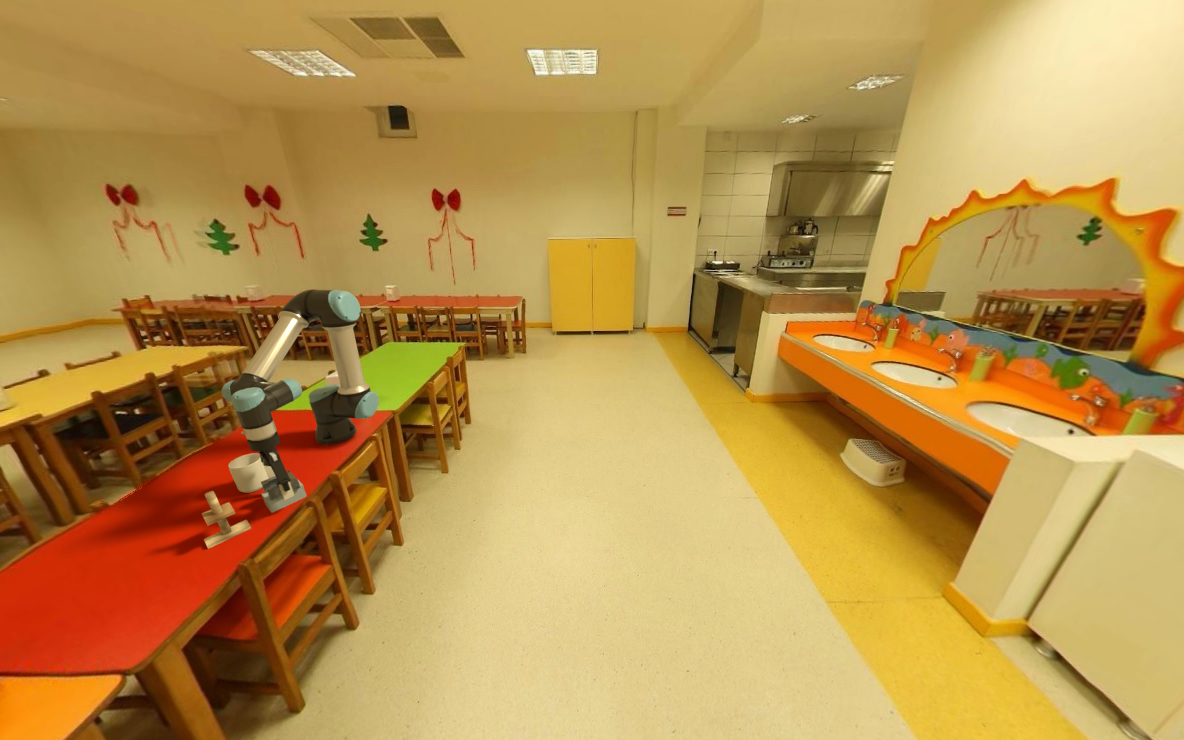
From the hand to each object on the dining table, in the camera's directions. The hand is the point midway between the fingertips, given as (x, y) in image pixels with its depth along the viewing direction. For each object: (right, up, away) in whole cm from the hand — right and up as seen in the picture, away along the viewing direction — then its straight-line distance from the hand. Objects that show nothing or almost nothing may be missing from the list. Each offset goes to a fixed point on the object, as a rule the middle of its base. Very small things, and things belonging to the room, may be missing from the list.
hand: (282, 489), depth 128 cm
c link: (0, 0, 0) cm, 0 cm away
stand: (-6, -10, -12) cm, 17 cm away
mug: (-17, -1, +10) cm, 20 cm away
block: (0, -5, +2) cm, 5 cm away
